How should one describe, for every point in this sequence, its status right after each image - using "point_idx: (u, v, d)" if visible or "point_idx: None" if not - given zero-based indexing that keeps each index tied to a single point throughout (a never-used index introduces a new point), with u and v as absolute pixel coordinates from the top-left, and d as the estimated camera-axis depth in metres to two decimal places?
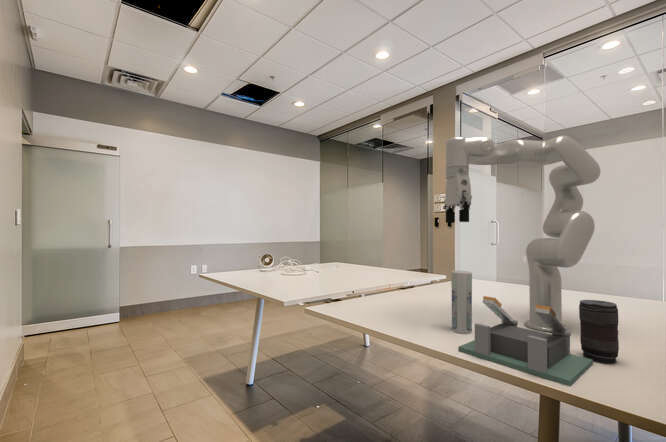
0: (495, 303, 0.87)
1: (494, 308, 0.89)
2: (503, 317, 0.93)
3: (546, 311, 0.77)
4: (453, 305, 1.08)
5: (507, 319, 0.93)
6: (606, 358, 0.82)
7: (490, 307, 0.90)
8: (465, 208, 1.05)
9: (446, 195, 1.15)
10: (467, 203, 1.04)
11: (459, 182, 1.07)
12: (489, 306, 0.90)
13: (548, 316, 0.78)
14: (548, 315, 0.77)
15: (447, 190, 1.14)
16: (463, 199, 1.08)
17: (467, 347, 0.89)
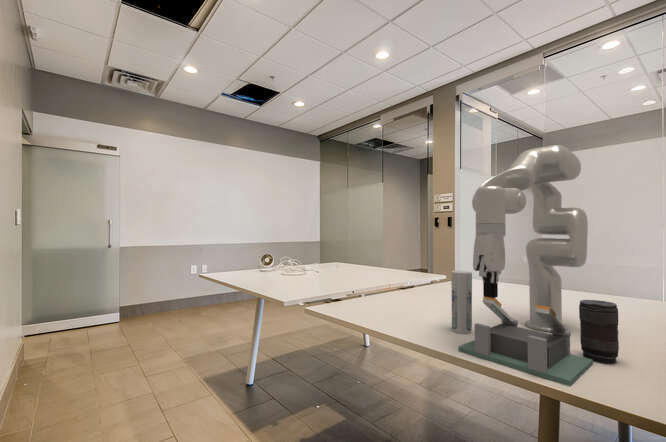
0: (495, 303, 0.87)
1: (494, 308, 0.89)
2: (503, 317, 0.93)
3: (546, 311, 0.77)
4: (453, 305, 1.08)
5: (507, 319, 0.93)
6: (606, 358, 0.82)
7: (490, 307, 0.90)
8: None
9: (492, 258, 0.85)
10: None
11: None
12: (489, 306, 0.90)
13: (548, 316, 0.78)
14: (548, 315, 0.77)
15: (495, 252, 0.86)
16: None
17: (467, 347, 0.89)
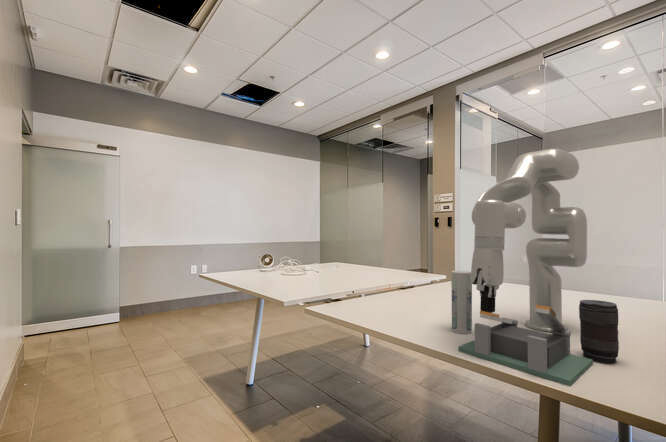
0: (493, 317, 0.86)
1: None
2: None
3: (546, 311, 0.77)
4: (453, 305, 1.08)
5: (507, 322, 0.93)
6: (606, 358, 0.82)
7: None
8: (491, 296, 0.89)
9: (491, 272, 0.84)
10: None
11: None
12: None
13: (548, 316, 0.78)
14: (548, 315, 0.77)
15: (493, 266, 0.85)
16: None
17: (467, 347, 0.89)
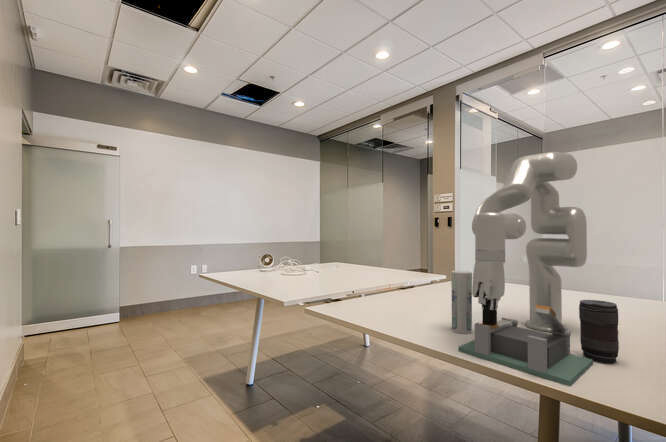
0: (492, 330, 0.86)
1: None
2: None
3: (546, 311, 0.77)
4: (453, 305, 1.08)
5: None
6: (606, 358, 0.82)
7: None
8: None
9: (492, 285, 0.85)
10: None
11: None
12: None
13: (548, 316, 0.78)
14: (548, 315, 0.77)
15: (494, 279, 0.85)
16: None
17: (467, 347, 0.89)
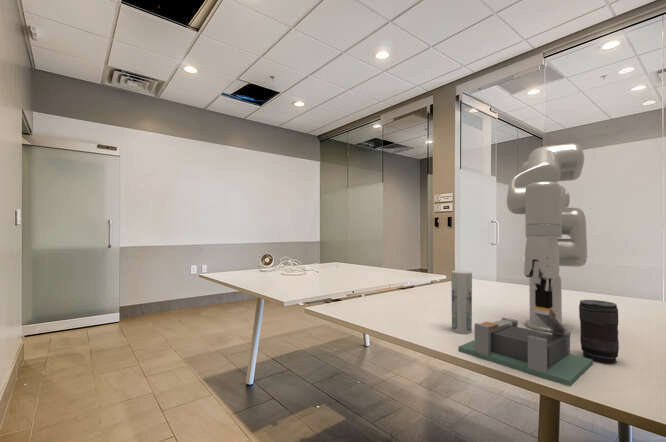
0: (492, 330, 0.86)
1: None
2: None
3: (546, 312, 0.77)
4: (453, 305, 1.08)
5: None
6: (606, 358, 0.82)
7: None
8: None
9: (549, 263, 0.75)
10: None
11: None
12: None
13: (548, 317, 0.78)
14: (548, 316, 0.77)
15: (551, 256, 0.76)
16: None
17: (467, 347, 0.89)
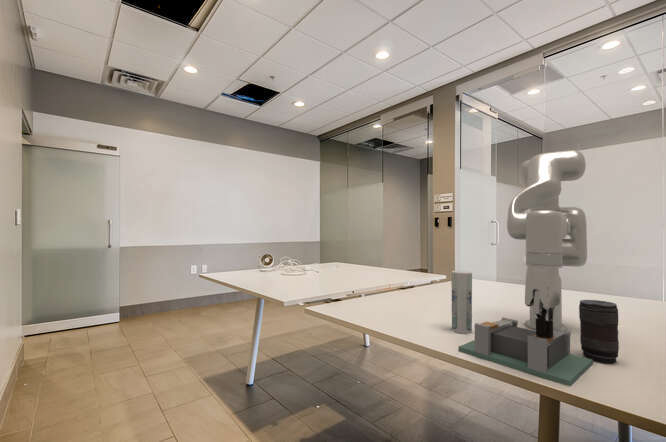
0: (492, 330, 0.86)
1: None
2: None
3: None
4: (453, 305, 1.08)
5: None
6: (606, 358, 0.82)
7: None
8: None
9: (549, 293, 0.75)
10: None
11: None
12: None
13: None
14: None
15: (551, 286, 0.75)
16: None
17: (467, 347, 0.89)
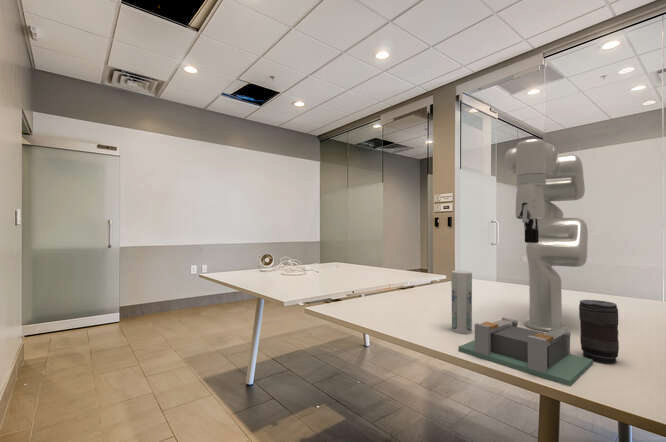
0: (492, 330, 0.86)
1: None
2: None
3: None
4: (453, 305, 1.08)
5: None
6: (606, 358, 0.82)
7: None
8: None
9: (535, 205, 0.92)
10: None
11: None
12: None
13: None
14: None
15: (537, 199, 0.93)
16: None
17: (467, 347, 0.89)
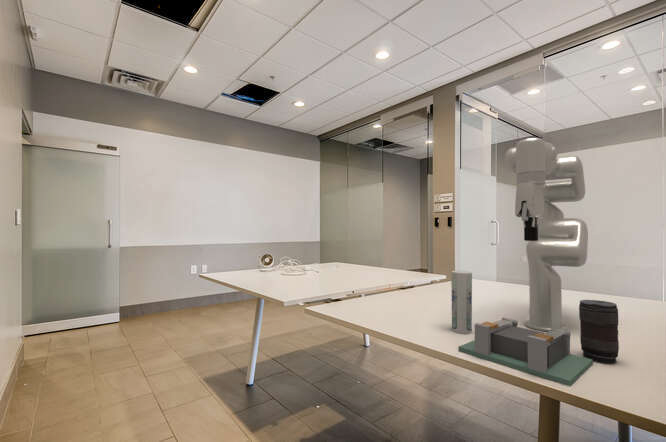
0: (492, 330, 0.86)
1: None
2: None
3: None
4: (453, 305, 1.08)
5: None
6: (606, 358, 0.82)
7: None
8: None
9: (534, 203, 0.93)
10: None
11: None
12: None
13: None
14: None
15: (536, 197, 0.93)
16: None
17: (467, 347, 0.89)
